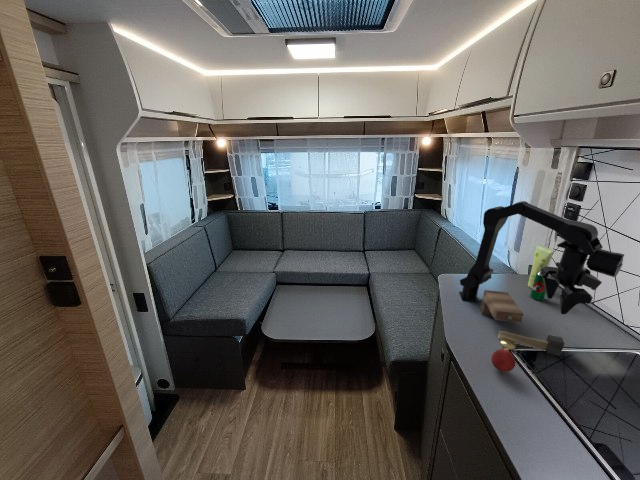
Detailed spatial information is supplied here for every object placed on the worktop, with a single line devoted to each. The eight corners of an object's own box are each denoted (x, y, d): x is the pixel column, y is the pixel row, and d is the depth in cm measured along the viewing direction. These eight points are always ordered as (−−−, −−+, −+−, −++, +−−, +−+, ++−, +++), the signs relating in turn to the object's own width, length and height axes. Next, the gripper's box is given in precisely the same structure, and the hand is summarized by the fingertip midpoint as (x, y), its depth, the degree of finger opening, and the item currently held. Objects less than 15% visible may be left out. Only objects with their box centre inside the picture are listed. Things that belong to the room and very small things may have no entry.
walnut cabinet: (479, 310, 114) (484, 290, 111) (502, 312, 112) (507, 292, 109) (492, 334, 100) (498, 312, 97) (518, 338, 99) (524, 315, 95)
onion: (493, 377, 83) (500, 354, 80) (485, 362, 88) (491, 340, 86) (515, 379, 82) (522, 357, 79) (506, 364, 88) (512, 342, 85)
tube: (525, 287, 131) (537, 247, 124) (526, 282, 134) (537, 243, 127) (541, 291, 128) (554, 250, 121) (541, 286, 131) (553, 246, 125)
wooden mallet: (497, 335, 100) (500, 323, 98) (557, 350, 93) (561, 337, 92) (498, 341, 97) (501, 328, 95) (559, 356, 91) (564, 343, 89)
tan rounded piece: (498, 340, 98) (499, 336, 97) (513, 343, 96) (514, 340, 96) (500, 349, 94) (501, 345, 94) (516, 352, 93) (517, 348, 92)
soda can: (546, 301, 120) (554, 275, 115) (532, 300, 121) (540, 274, 116) (540, 295, 124) (548, 270, 120) (527, 293, 125) (534, 268, 121)
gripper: (623, 281, 81) (602, 327, 86) (584, 254, 97) (569, 294, 103) (576, 276, 83) (559, 321, 89) (546, 250, 100) (533, 290, 106)
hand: (556, 305), depth 96 cm, fingers open, 9 cm apart
